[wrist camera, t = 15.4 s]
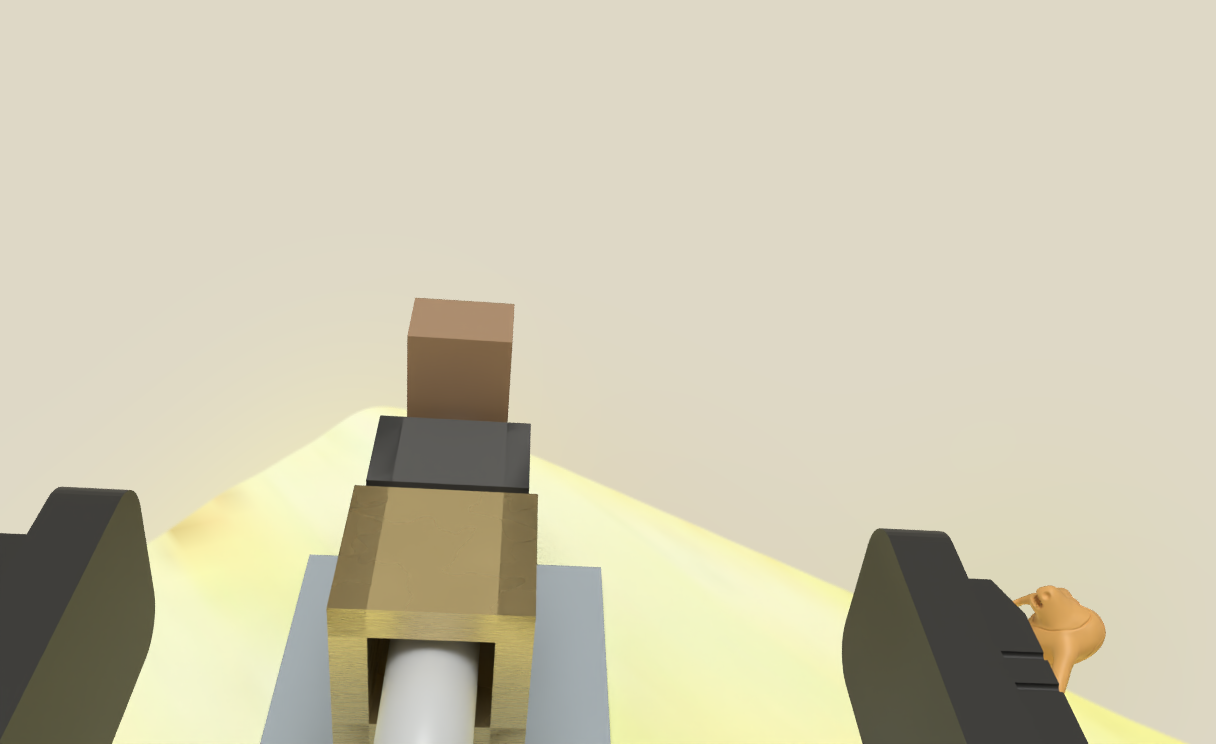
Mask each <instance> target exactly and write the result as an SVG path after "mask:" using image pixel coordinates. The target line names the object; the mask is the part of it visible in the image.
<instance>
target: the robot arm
mask: <svg viewBox="0 0 1216 744" xmlns="http://www.w3.org/2000/svg"><path fill="white" fill-rule="evenodd" d="M154 618H155V596H154V589H153V582H152V576H151V570H150V563H149V557H148V551H147V544H146V538H145V532H144V525H143V519H142V513H141V508H140V502H139V499H138V497H137V495H136V493H135V492H134V491H132V490H115V489H96V488H95V489H94V488H76V487H58V488H57V489H55V490H54V491H53V492H52V493H51V494H50V496H49V497H48V499H47V501H46V502H45V504H44V506H43V508H42V509H41V511H40V513H39V514H38V516H37V518H36V520H35V521H34V523H33V525H32V526H31V528H30V530H29V531H28V533H27V534H4V533H0V744H112V742H113V739H114V737H115V734H116V732H117V729H118V727H119V724H120V722H121V719H122V717H123V714H124V712H125V709H126V707H127V704H128V702H129V699H130V697H131V694H132V692H133V689H134V686H135V684H136V681H137V679H138V676H139V674H140V671H141V669H142V666H143V664H144V661H145V659H146V656H147V653H148V650H149V647H150V643H151V638H152V633H153V627H154ZM1043 654H1044V652H1043V650H1042V647H1041V645H1040V643H1039V641H1038V639H1037V637H1036V635H1035V633H1034V631H1033V629H1032V627H1031V625H1030V623H1029V621H1028V619H1027V617H1026V615H1025V613H1023V611H1022V610H1020V608H1019V607H1018V606H1017V605H1016V604H1015V603H1014V602H1013V601H1012V600H1011V599H1010V598H1009V597H1008V596H1006V594H1004V593H1003V591H1002V590H1001V589H1000V588H999V587H998V586H997V585H996V584H995V583H994V582H993V581H992V580H987V579H968V577H967V574H966V572H965V570H964V567H963V565H962V563H961V561H960V558H959V556H958V554H957V552H956V549H955V547H954V545H953V543H952V541H951V539H950V537H949V536H948V535H947V534H946V533H944V532H940V531H923V530H902V529H877V530H876V531H874V533H873V534H872V536H871V538H870V541H869V544H868V547H867V550H866V554H865V558H864V561H863V564H862V568H861V571H860V574H859V578H858V582H857V585H856V589H855V592H854V595H853V598H852V602H851V605H850V609H849V612H848V616H847V619H846V623H845V627H844V632H843V641H842V664H843V673H844V679H845V683H846V687H847V690H848V694H849V697H850V701H851V704H852V708H853V711H854V715H855V718H856V722H857V725H858V729H859V732H860V736H861V740H862V743H863V744H1088V742H1087V740H1086V738H1085V736H1084V734H1083V732H1082V730H1081V728H1080V725H1079V723H1078V721H1077V719H1076V717H1075V715H1074V713H1073V711H1072V709H1071V707H1070V705H1069V703H1068V701H1067V699H1066V697H1065V695H1064V693H1063V692H1060V691H1059V682H1058V680H1057V678H1056V676H1055V674H1054V672H1053V670H1052V668H1051V666H1050V664H1049V662H1048V660H1044V657H1043Z"/></svg>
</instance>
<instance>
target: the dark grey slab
mask: <svg viewBox="0 0 1216 744" xmlns="http://www.w3.org/2000/svg"><path fill="white" fill-rule="evenodd" d="M530 430H531V424H524V423H507V422H489V421H471V420H453V419H434V418H416V417H398V416H380V419H379V424H378V428H377V433H376V438H375V442H374V447H373V451H372V456H371V461H370V465H369V470H368V474H367V479H366V486H380V487H400V488H420V489H440V490H461V491H481V492H501V493H521V494H529V471H530Z"/></svg>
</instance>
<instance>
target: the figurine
mask: <svg viewBox="0 0 1216 744" xmlns="http://www.w3.org/2000/svg"><path fill="white" fill-rule="evenodd" d="M1036 592H1037V593H1032V594H1029V595H1027V596H1024V597H1021V598H1019V599H1016V600H1014V601H1013V602H1014V603H1015V604H1016V605H1017V606H1018V607H1019V606H1021V605H1023V604H1029V605H1031V607H1032V608H1033V610H1034V611H1035V613H1034V614H1033V615H1032V616H1031V617H1030V618H1029V619H1028V621H1029V623H1030V625H1031V627H1032V629H1033V631H1034V633H1035V635H1036V637H1037V639H1038V641H1039V643H1040V645H1041V647H1042V650H1043V652H1044V654H1043V657H1044V660H1048V662H1049V664H1050V666H1051V668H1052V670H1053V672H1054V674H1055V676H1056V678H1057V680H1058V682H1059V691H1060V692H1063V693H1065V690H1066V687H1067V684H1068V680H1069V677H1070V673H1071V670H1072V667H1073V665H1074V664H1076V663H1079V662H1081V661H1083V660H1085V659H1087V658H1089V657H1090V656H1092V655H1093V654H1094V653H1096V652H1097V650H1098V649H1099V648H1100V647H1101V645H1102V644H1103V641H1104V639H1105V634H1106V632H1105V626H1104V623H1103V621H1102V620H1101V618H1100V617H1099V616H1098V614H1097V613H1095V612H1094V611H1092V610H1090V609H1088V608H1086V607H1083V606H1081V605H1080V604H1079V602H1078V601H1077V600H1076V599H1074V598H1073V597H1072V595H1071V594H1070V593H1069V592H1068V590H1066V589H1064V588H1056V587H1054V586H1044V587H1040V588H1039V589H1037V591H1036Z"/></svg>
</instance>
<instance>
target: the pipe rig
mask: <svg viewBox="0 0 1216 744" xmlns="http://www.w3.org/2000/svg"><path fill="white" fill-rule="evenodd" d="M513 321H514V304H505V303H488V302H472V301H458V300H442V299H426V298H415V302H414V307H413V312H412V317H411V321H410V327H409V331H408V343H407V344H408V345H407V349H408V350H407V351H408V352H407V353H408V354H407V357H408V358H407V417H416V418H434V419H453V420H471V421H489V422H507V421H508V405H509V388H510V372H511V354H512V340H513V339H512V338H513ZM337 560H338V556H330V555H310V556H309V560H308V563H307V567H306V571H305V575H304V579H303V583H302V586H301V590H300V594H299V598H298V602H297V605H296V609H295V613H294V617H293V621H292V625H291V628H290V632H289V636H288V640H287V644H286V647H285V651H284V655H283V659H282V663H281V667H280V670H279V674H278V678H277V682H276V686H275V689H274V693H273V697H272V701H271V705H270V708H269V712H268V716H267V720H266V724H265V728H264V731H263V735H262V739H261V743H260V744H333V735H332V714H331V694H330V673H329V652H328V632H327V611H326V608H327V603H328V599H329V595H330V590H331V586H332V582H333V577H334V573H335V569H336V564H337ZM479 654H480V642H467V641H441V640H414V639H390V644H389V650H388V656H387V662H386V669H385V675H384V681H383V687H382V694H381V700H380V706H379V712H378V719H377V725H376V731H375V738H374V744H473V740H474V726H475V711H476V697H477V682H478V668H479ZM525 744H611V743H610V725H609V707H608V689H607V670H606V652H605V634H604V616H603V598H602V579H601V567H580V566H557V565H537V582H536V622H535V634H534V645H533V656H532V668H531V679H530V690H529V702H528V713H527V724H526V736H525Z"/></svg>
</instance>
